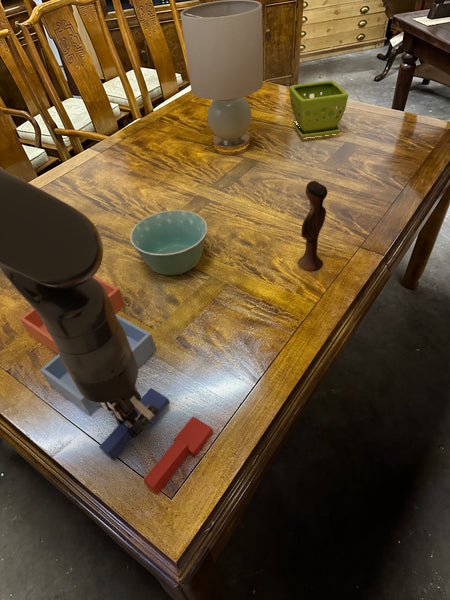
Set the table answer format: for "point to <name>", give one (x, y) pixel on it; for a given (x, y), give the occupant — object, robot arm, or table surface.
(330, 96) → the flower pot
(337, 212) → the table surface
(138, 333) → the blue bin
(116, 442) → the blue bar
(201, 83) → the lamp
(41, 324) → the red bin
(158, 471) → the red stepped block
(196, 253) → the bowl
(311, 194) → the figurine
